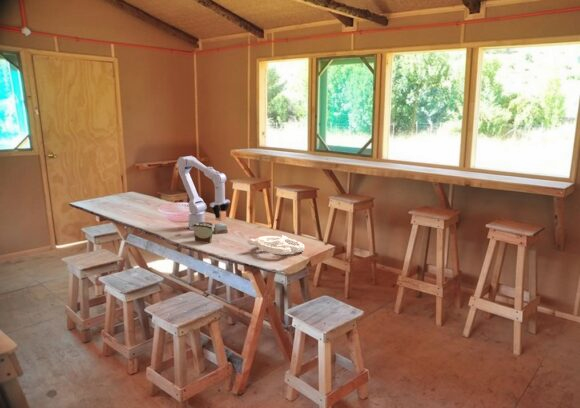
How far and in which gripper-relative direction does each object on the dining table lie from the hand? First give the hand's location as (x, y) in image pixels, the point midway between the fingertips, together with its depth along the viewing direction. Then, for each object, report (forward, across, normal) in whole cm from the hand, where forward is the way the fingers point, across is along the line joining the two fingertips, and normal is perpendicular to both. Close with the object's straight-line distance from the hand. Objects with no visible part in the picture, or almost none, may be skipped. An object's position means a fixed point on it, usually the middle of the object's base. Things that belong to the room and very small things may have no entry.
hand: (220, 216), depth 258 cm
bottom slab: (+10, 0, 0) cm, 10 cm away
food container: (+9, -18, -6) cm, 21 cm away
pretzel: (+10, -5, -47) cm, 48 cm away
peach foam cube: (+2, 0, 0) cm, 2 cm away
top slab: (+7, 0, 0) cm, 7 cm away
